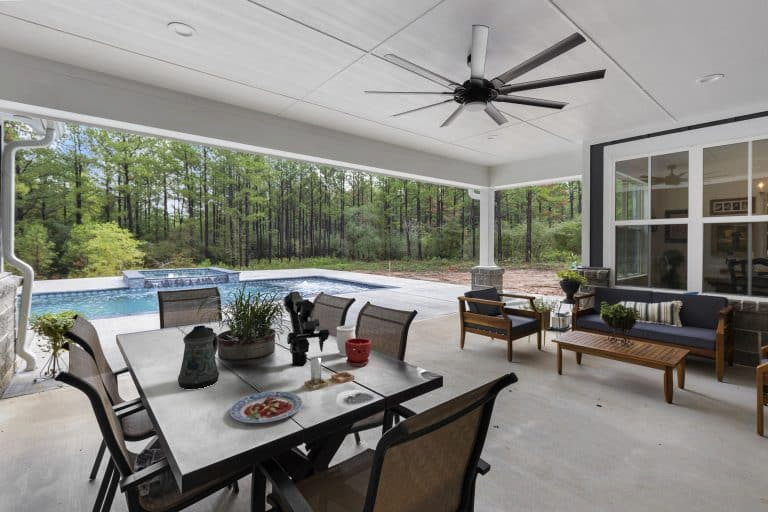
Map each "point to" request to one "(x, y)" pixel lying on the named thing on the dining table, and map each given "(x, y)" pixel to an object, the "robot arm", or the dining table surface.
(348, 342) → the plant pot
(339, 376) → the brown divided tray
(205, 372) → the beer stein
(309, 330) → the robot arm
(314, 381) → the cylinder
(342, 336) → the jar
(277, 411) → the ceramic plate
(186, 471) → the dining table surface
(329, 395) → the dining table surface
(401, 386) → the dining table surface
